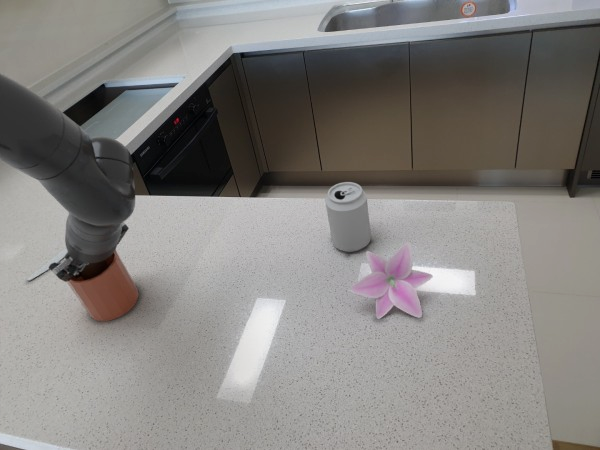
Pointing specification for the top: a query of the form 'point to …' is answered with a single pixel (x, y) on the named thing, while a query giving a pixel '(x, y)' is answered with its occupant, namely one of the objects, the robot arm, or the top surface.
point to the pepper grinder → (94, 270)
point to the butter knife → (45, 267)
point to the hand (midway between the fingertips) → (87, 264)
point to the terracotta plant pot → (107, 291)
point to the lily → (392, 282)
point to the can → (348, 216)
